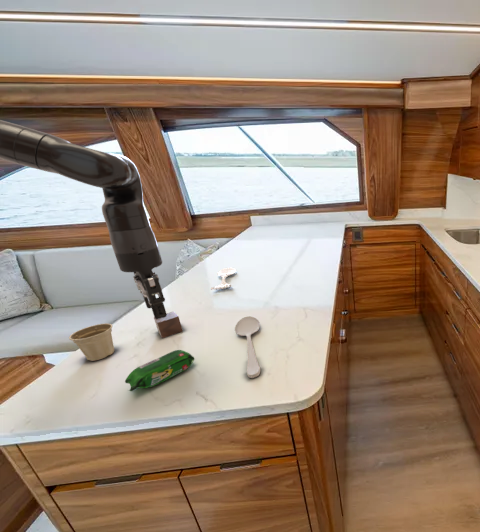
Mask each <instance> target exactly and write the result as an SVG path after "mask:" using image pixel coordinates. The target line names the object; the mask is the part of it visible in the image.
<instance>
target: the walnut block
mask: <svg viewBox="0 0 480 532" xmlns="http://www.w3.org/2000/svg"><path fill="white" fill-rule="evenodd" d="M166 314H167V316H166V317H164V318H160V319H155V317H154V316H153V320H154V323H155V326H156V328H157V333H158V334H159V336H160V337H161V339H165V338H168V337H170V336H173V335H176V334H179V333H182V332H183V326H182V322H181V320H180V316H179V315H178V313H176V312H175V311H170V312H166Z"/></svg>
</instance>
